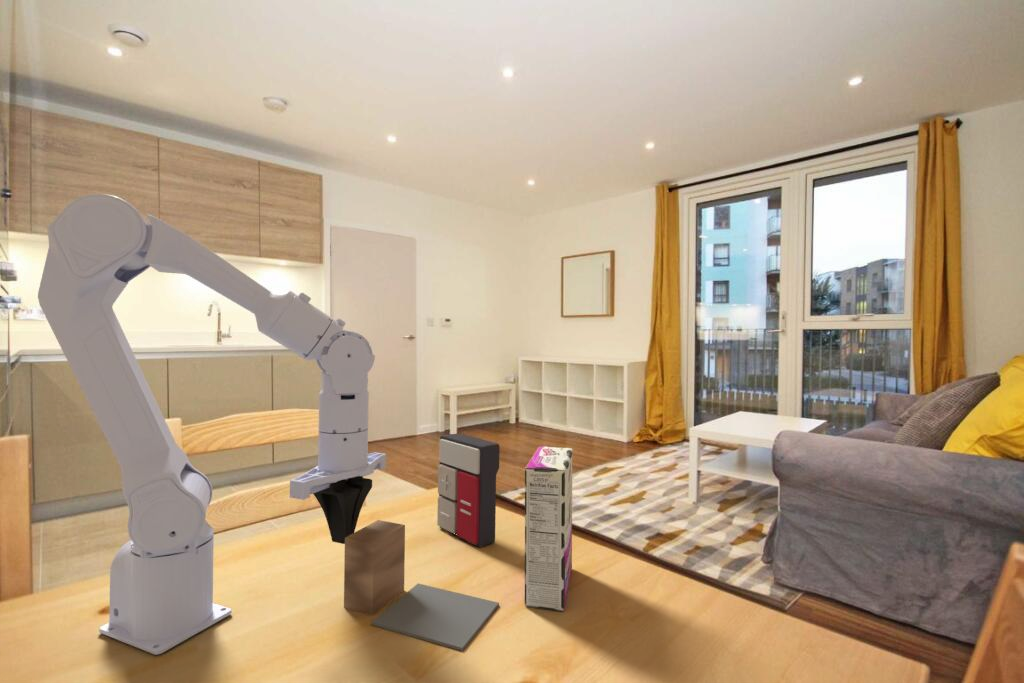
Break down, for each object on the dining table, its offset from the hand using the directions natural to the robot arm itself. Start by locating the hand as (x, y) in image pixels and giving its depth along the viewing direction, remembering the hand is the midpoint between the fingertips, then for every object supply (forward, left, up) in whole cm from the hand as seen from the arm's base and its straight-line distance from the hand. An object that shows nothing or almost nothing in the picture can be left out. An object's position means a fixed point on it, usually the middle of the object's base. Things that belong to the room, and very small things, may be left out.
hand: (342, 540), depth 59 cm
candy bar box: (+23, +11, -6) cm, 26 cm away
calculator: (+6, +21, -6) cm, 23 cm away
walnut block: (+5, 0, -6) cm, 8 cm away
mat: (+13, 0, -6) cm, 15 cm away
